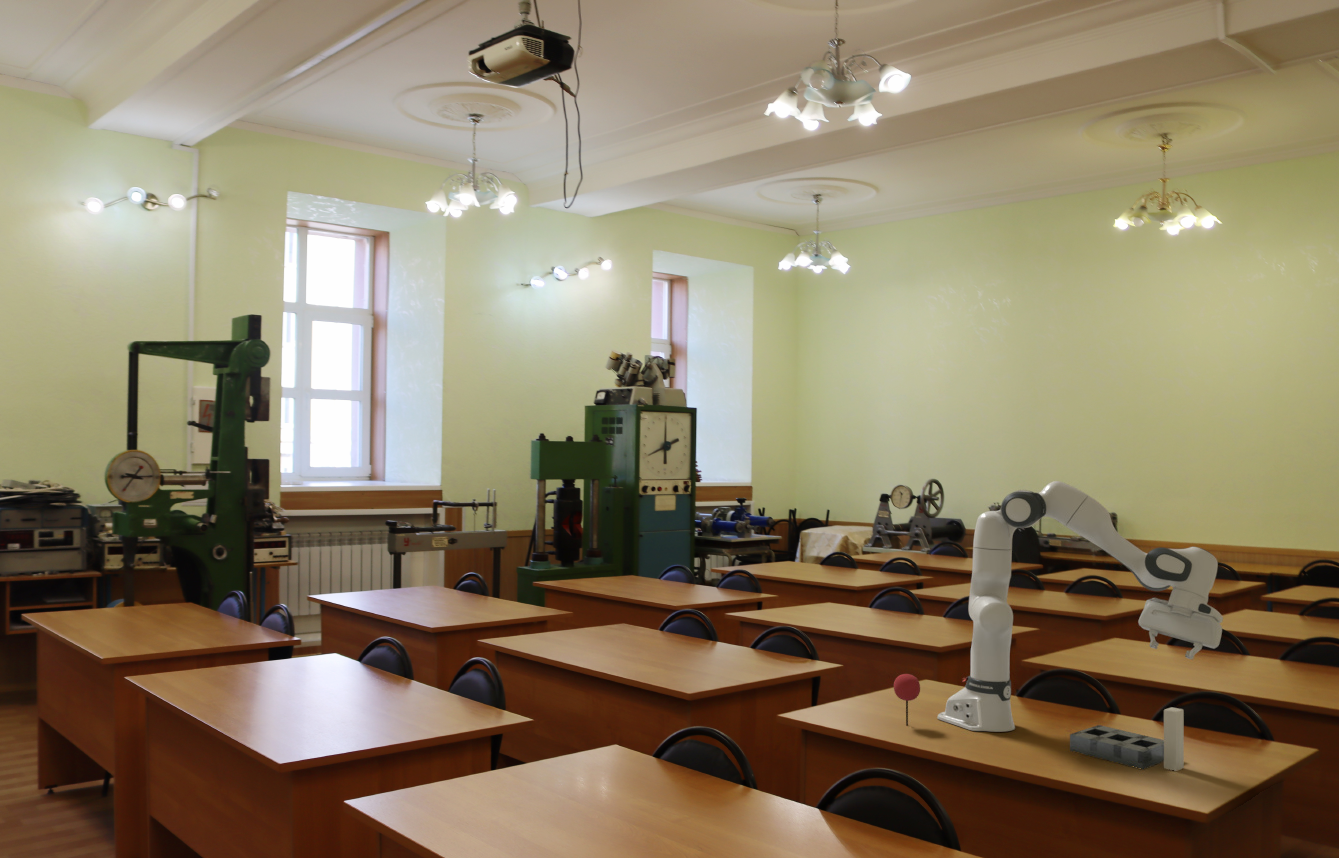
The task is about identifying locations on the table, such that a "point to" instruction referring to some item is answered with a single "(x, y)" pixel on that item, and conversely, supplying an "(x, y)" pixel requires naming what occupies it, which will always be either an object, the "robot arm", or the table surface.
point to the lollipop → (906, 689)
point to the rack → (1118, 746)
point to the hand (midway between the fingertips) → (1170, 652)
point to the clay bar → (1174, 738)
